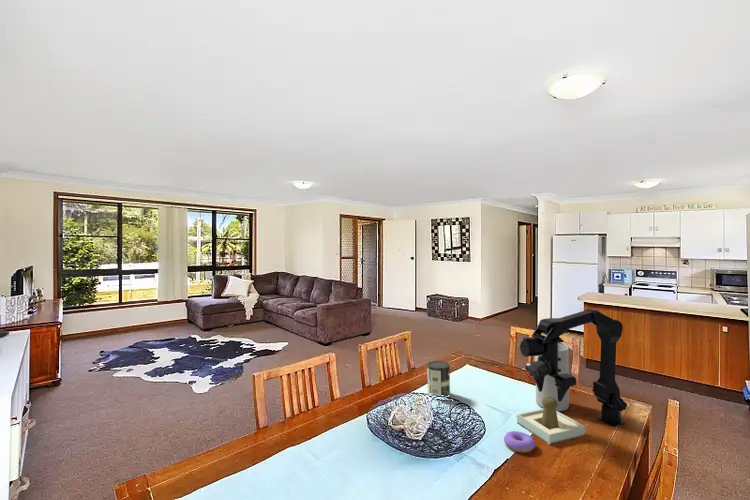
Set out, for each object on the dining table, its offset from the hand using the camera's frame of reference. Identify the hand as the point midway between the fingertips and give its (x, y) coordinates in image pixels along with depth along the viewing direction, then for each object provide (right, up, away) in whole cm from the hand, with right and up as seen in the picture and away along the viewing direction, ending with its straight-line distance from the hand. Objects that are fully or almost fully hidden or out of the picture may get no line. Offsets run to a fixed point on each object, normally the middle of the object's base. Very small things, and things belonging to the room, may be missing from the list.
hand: (549, 396), depth 136 cm
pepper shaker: (0, -12, 0) cm, 12 cm away
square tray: (0, -12, 0) cm, 12 cm away
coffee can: (-35, -13, +32) cm, 50 cm away
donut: (-15, -13, -10) cm, 23 cm away
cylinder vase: (+10, -12, +20) cm, 25 cm away
